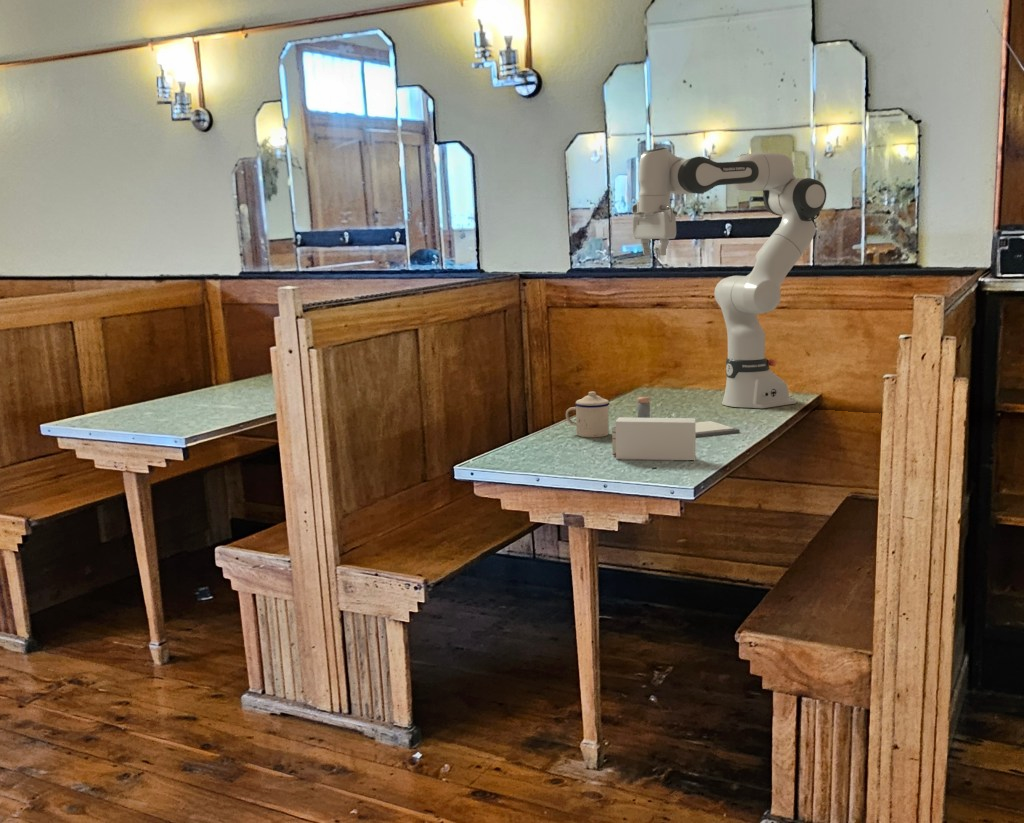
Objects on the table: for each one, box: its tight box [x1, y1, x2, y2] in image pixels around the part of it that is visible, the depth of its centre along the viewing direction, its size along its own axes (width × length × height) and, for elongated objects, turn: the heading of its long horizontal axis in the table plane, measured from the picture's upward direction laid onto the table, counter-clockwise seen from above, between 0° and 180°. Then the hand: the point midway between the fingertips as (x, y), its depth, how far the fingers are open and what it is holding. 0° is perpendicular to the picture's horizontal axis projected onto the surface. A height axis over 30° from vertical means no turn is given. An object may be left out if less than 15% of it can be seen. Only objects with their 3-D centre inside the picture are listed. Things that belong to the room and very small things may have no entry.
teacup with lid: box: [565, 391, 610, 439], centre depth 281 cm, size 12×9×12 cm
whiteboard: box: [695, 420, 741, 438], centre depth 281 cm, size 25×14×1 cm, turn 110°
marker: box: [636, 396, 651, 418], centre depth 294 cm, size 4×4×8 cm
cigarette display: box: [611, 416, 697, 462], centre depth 251 cm, size 20×6×9 cm, turn 77°
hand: (654, 255), depth 302 cm, fingers open, 8 cm apart
